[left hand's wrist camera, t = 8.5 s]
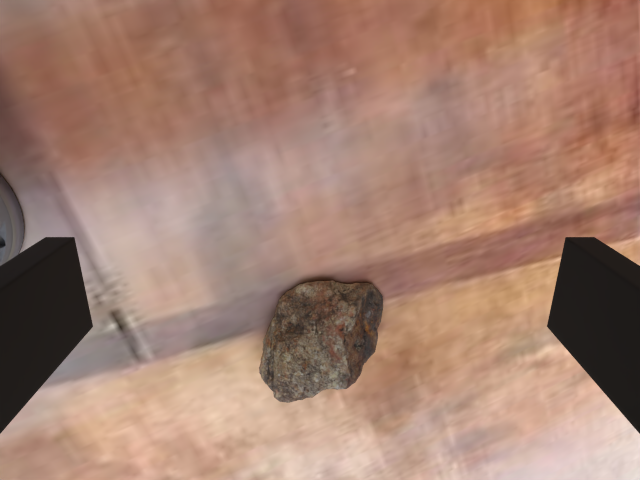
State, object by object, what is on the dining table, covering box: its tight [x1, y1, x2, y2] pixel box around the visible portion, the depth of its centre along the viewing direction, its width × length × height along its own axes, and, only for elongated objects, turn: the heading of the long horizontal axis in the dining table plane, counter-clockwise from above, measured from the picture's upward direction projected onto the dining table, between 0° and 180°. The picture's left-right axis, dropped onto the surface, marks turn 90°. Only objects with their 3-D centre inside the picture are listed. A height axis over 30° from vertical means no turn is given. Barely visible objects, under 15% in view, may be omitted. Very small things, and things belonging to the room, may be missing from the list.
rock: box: [259, 280, 383, 402], centre depth 48 cm, size 14×9×10 cm
